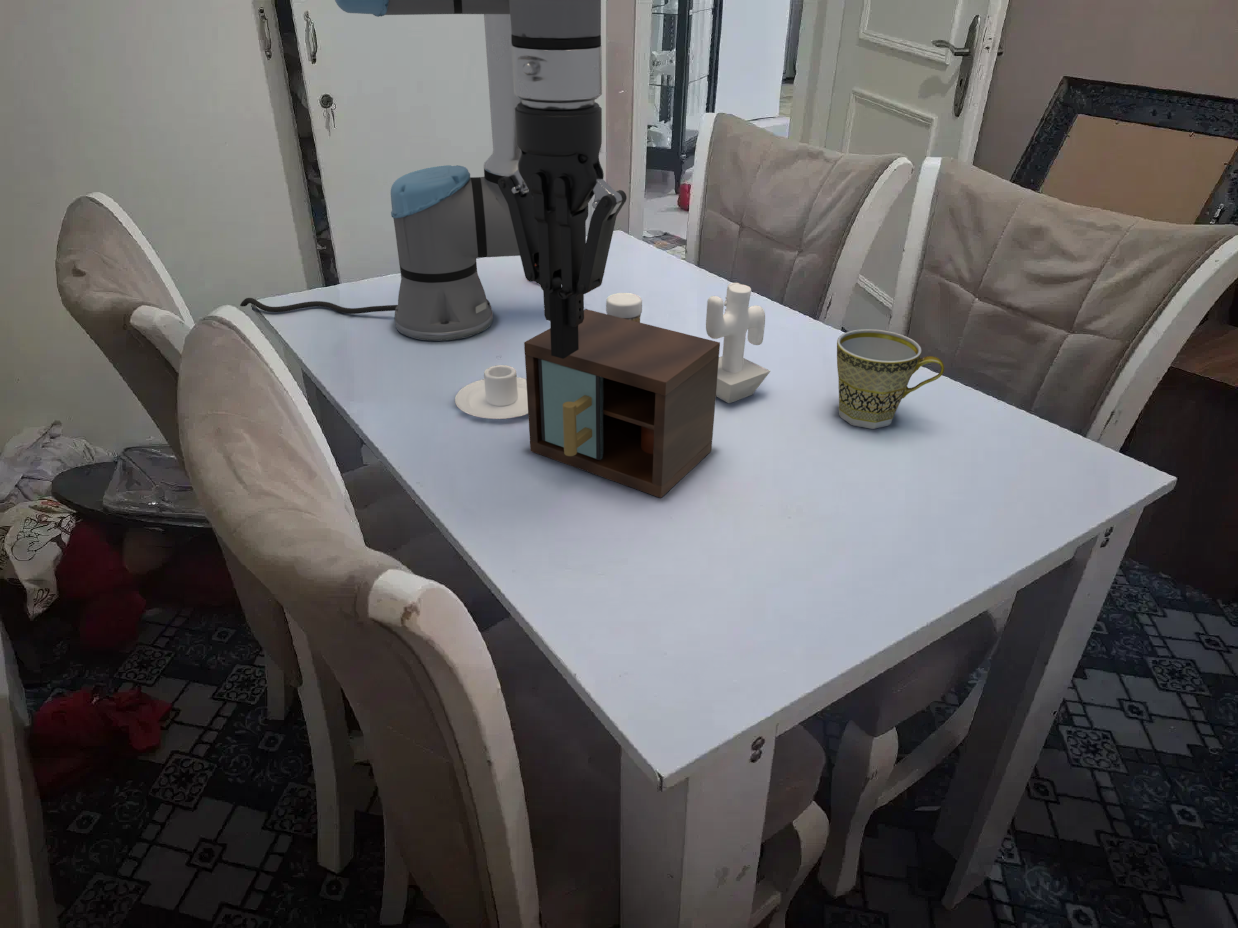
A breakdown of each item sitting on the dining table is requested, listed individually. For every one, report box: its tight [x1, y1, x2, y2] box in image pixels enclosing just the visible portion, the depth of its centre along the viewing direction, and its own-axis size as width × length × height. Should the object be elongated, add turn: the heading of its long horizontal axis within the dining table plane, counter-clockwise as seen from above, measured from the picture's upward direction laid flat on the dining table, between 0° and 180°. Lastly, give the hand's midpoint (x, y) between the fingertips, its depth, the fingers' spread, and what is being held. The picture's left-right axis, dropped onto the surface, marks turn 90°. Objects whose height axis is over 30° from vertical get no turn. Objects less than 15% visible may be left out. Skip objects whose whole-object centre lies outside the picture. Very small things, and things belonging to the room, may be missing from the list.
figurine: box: [705, 282, 771, 404], centre depth 106 cm, size 7×9×15 cm
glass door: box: [538, 359, 603, 460], centre depth 90 cm, size 8×5×10 cm, turn 57°
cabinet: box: [523, 308, 721, 499], centre depth 93 cm, size 18×12×14 cm, turn 57°
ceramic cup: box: [836, 328, 945, 430], centre depth 102 cm, size 13×10×10 cm
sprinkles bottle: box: [605, 292, 643, 323], centre depth 107 cm, size 5×5×14 cm
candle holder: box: [454, 364, 528, 420], centre depth 107 cm, size 12×12×4 cm
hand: (565, 352), depth 83 cm, fingers closed
